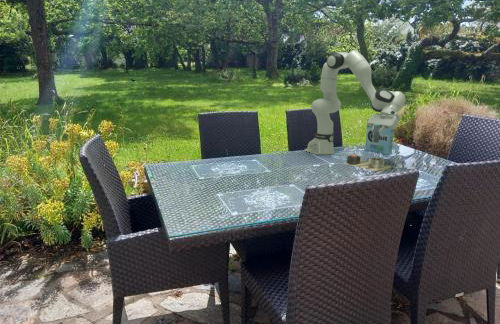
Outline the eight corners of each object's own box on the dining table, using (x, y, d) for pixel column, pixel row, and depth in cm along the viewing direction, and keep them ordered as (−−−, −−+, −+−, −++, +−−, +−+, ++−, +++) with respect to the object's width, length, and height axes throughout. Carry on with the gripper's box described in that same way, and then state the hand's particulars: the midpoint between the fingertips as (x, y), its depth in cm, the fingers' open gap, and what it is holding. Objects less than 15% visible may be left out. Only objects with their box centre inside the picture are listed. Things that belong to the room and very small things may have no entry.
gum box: (365, 150, 307) (366, 119, 302) (369, 149, 311) (371, 118, 305) (388, 154, 293) (390, 122, 287) (392, 153, 296) (394, 121, 290)
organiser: (342, 165, 266) (343, 155, 264) (358, 160, 277) (359, 151, 275) (375, 172, 248) (376, 162, 247) (391, 167, 259) (392, 158, 258)
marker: (371, 142, 255) (372, 124, 252) (375, 141, 257) (375, 123, 255) (377, 142, 252) (377, 124, 250) (380, 142, 255) (381, 124, 252)
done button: (349, 157, 266) (349, 154, 265) (353, 156, 268) (353, 153, 268) (354, 159, 263) (354, 155, 262) (358, 158, 265) (358, 154, 265)
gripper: (372, 110, 263) (360, 126, 260) (398, 112, 246) (386, 130, 243) (377, 116, 266) (365, 133, 263) (403, 119, 249) (391, 137, 246)
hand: (375, 132), depth 253 cm, fingers closed on marker, 3 cm apart
